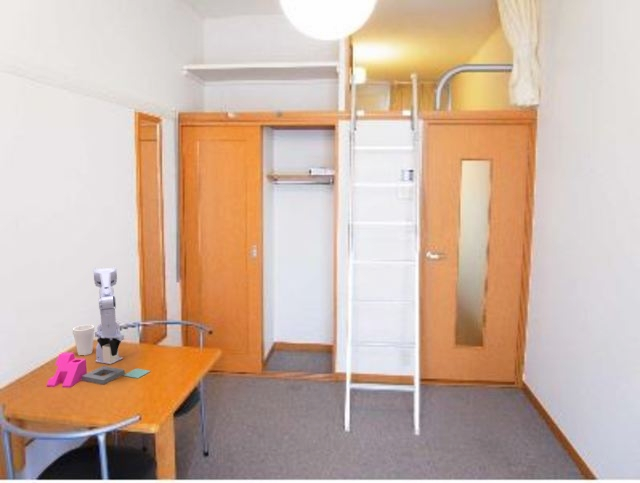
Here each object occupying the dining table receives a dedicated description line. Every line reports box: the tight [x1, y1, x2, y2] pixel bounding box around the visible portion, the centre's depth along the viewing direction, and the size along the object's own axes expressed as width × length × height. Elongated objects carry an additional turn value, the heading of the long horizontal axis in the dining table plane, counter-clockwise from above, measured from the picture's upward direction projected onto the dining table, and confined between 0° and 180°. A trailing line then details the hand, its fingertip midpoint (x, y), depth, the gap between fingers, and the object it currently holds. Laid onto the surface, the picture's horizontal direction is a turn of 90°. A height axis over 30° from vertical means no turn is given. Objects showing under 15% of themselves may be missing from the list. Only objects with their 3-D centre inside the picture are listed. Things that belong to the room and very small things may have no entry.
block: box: [102, 344, 118, 364], centre depth 206 cm, size 4×4×7 cm
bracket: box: [46, 352, 88, 389], centre depth 202 cm, size 12×10×10 cm
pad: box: [122, 368, 152, 380], centre depth 210 cm, size 8×8×1 cm
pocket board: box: [81, 365, 126, 385], centre depth 207 cm, size 12×12×2 cm
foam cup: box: [72, 324, 95, 356], centre depth 235 cm, size 10×9×13 cm
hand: (110, 354), depth 206 cm, fingers closed on block, 4 cm apart
